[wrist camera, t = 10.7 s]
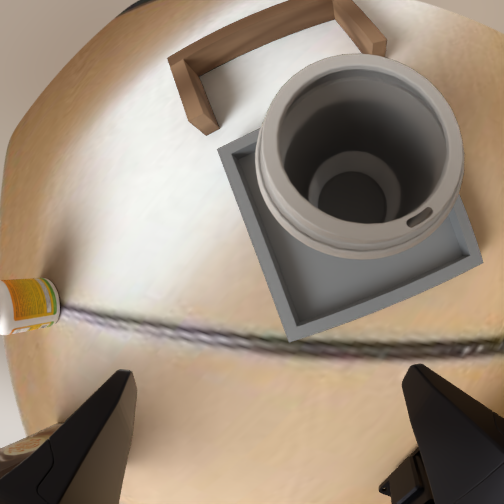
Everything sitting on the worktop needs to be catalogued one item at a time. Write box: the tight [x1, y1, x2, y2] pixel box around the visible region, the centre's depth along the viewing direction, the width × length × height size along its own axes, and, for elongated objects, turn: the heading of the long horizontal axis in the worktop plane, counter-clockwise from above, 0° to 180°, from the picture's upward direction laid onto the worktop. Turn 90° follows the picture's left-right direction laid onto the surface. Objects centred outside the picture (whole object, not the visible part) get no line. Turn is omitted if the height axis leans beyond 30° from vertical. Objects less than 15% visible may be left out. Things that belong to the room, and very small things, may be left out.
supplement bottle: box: [0, 278, 60, 335], centre depth 24 cm, size 5×5×10 cm
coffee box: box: [0, 423, 62, 478], centre depth 19 cm, size 9×6×16 cm
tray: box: [217, 129, 483, 342], centre depth 19 cm, size 14×14×2 cm
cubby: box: [167, 0, 387, 136], centre depth 20 cm, size 7×15×3 cm, turn 112°
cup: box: [255, 53, 464, 260], centre depth 13 cm, size 7×7×12 cm
